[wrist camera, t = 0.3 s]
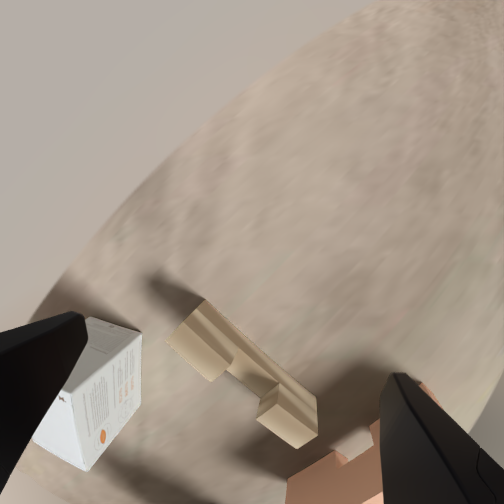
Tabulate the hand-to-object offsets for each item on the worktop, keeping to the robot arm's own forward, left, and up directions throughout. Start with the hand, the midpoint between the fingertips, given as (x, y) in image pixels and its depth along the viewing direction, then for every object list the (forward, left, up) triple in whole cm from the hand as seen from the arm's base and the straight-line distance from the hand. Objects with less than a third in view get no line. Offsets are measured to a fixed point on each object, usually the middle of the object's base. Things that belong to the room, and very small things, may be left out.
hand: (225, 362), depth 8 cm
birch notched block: (-6, -4, -15) cm, 17 cm away
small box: (-16, +4, -15) cm, 23 cm away
